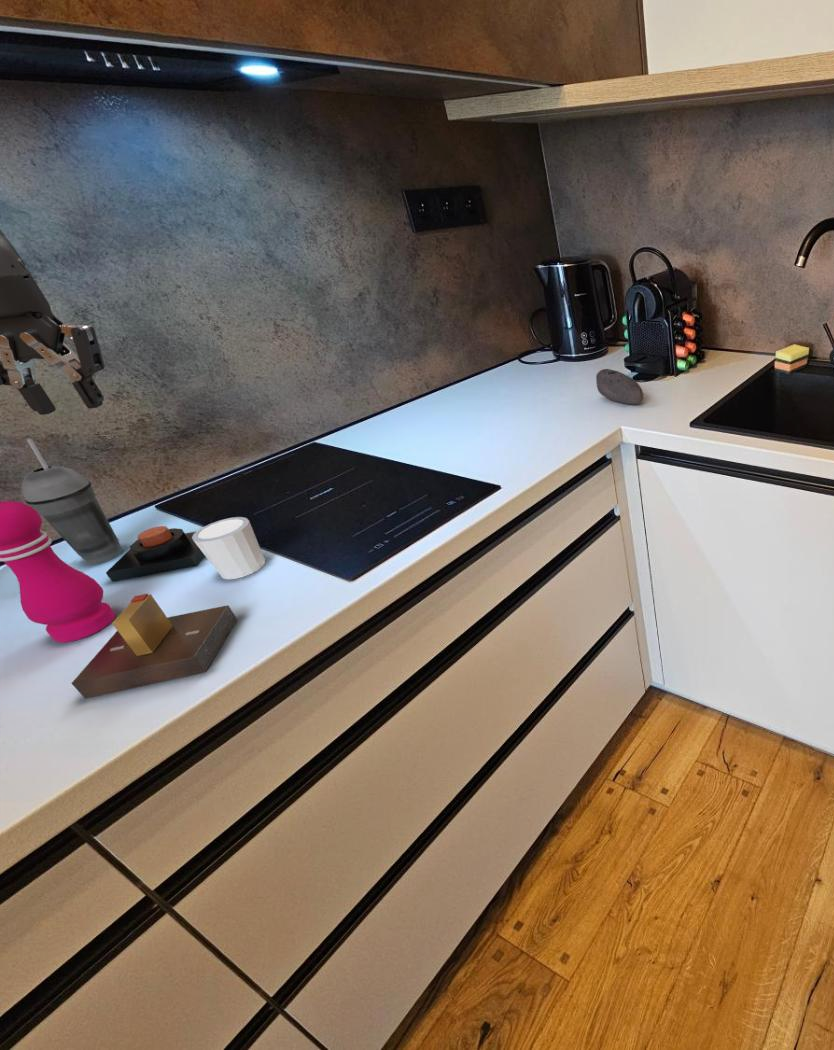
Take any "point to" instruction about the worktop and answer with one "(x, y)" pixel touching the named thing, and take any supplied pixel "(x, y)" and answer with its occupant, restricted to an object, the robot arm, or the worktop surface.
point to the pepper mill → (49, 578)
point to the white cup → (230, 547)
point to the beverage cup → (71, 510)
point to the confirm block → (157, 557)
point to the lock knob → (143, 624)
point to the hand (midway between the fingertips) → (72, 409)
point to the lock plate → (158, 654)
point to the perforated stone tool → (619, 387)
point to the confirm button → (154, 536)
